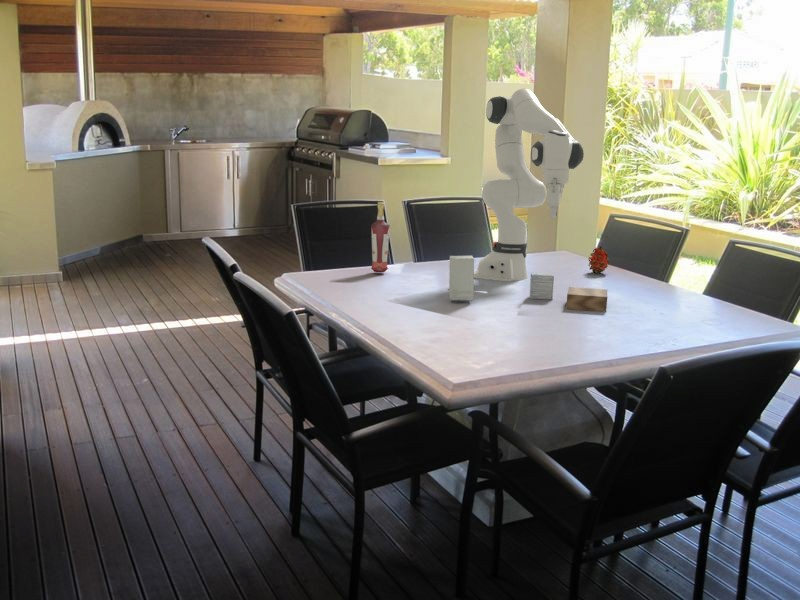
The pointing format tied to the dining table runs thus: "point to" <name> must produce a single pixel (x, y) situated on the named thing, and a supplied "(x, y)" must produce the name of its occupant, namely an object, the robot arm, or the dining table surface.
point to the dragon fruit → (598, 260)
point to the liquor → (380, 241)
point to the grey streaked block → (541, 286)
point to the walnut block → (587, 299)
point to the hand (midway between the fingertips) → (553, 217)
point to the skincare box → (461, 278)
